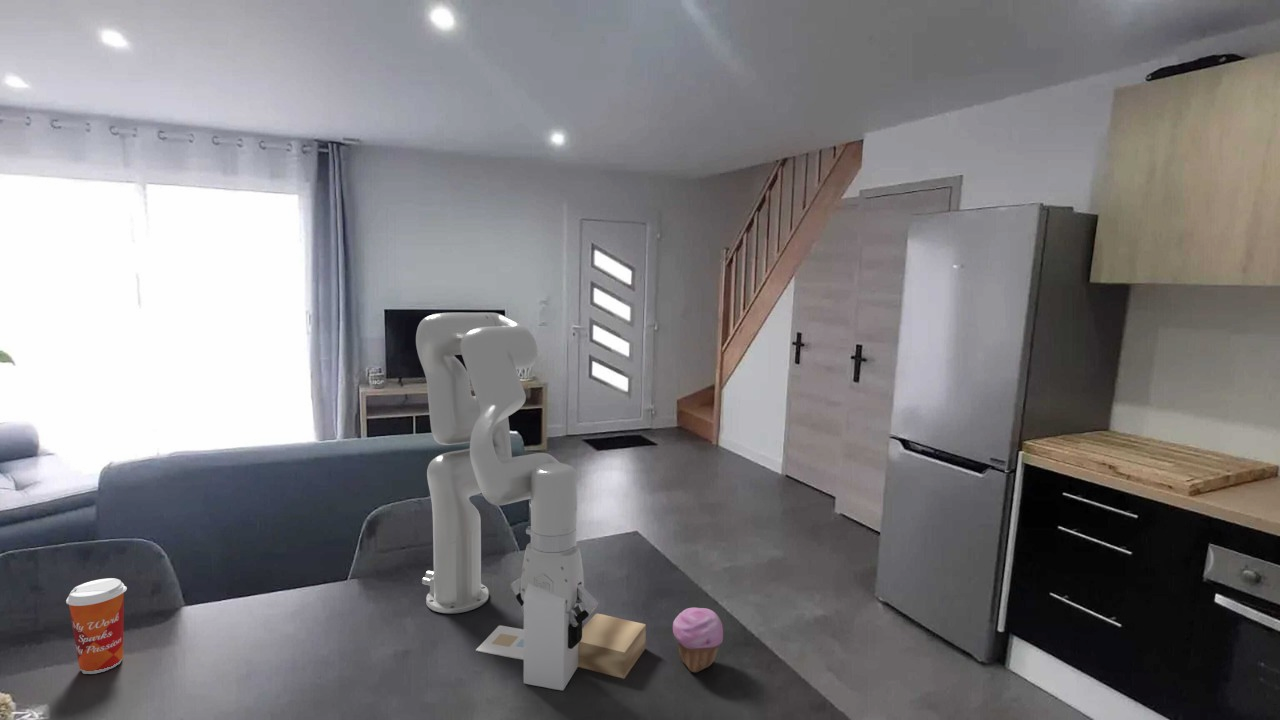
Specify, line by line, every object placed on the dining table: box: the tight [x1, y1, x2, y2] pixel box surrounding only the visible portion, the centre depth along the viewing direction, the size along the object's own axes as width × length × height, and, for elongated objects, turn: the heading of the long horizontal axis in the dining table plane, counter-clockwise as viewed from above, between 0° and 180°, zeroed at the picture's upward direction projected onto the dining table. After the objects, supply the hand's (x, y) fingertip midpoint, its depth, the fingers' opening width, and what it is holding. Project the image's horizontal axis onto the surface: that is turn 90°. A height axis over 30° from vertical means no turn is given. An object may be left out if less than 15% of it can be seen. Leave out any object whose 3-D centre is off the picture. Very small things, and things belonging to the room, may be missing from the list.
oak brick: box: [577, 612, 647, 680], centre depth 115 cm, size 10×10×5 cm
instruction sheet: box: [475, 624, 524, 661], centre depth 119 cm, size 12×9×1 cm
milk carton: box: [523, 584, 579, 691], centre depth 108 cm, size 7×7×19 cm
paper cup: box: [65, 577, 128, 671], centre depth 109 cm, size 8×8×14 cm
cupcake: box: [672, 607, 724, 673], centre depth 113 cm, size 9×9×10 cm
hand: (552, 637), depth 109 cm, fingers closed on milk carton, 7 cm apart
